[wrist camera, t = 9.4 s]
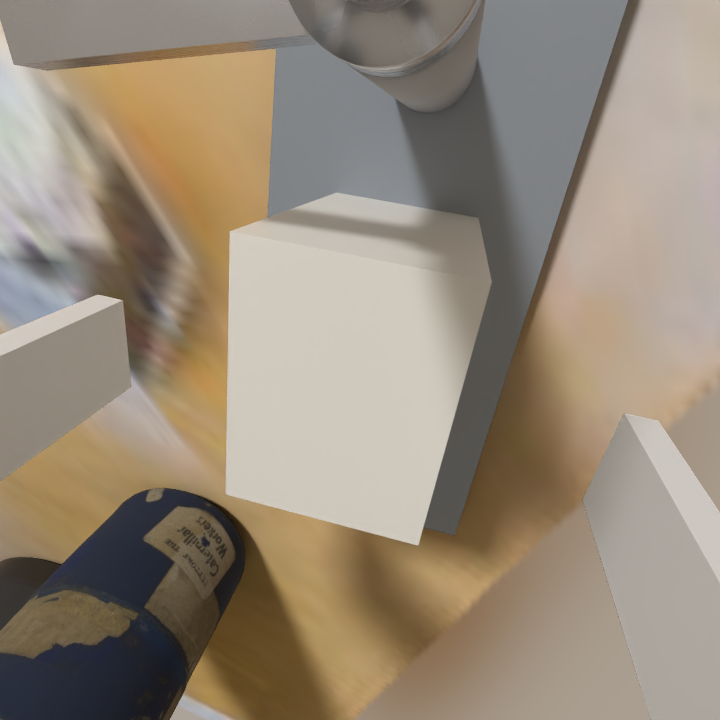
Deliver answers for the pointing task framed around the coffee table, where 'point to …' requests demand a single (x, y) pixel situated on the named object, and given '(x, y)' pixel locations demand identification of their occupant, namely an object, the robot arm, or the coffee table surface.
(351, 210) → the white block
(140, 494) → the canister
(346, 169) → the gray post stand
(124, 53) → the multicoloured piece
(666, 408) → the coffee table surface
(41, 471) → the coffee table surface
